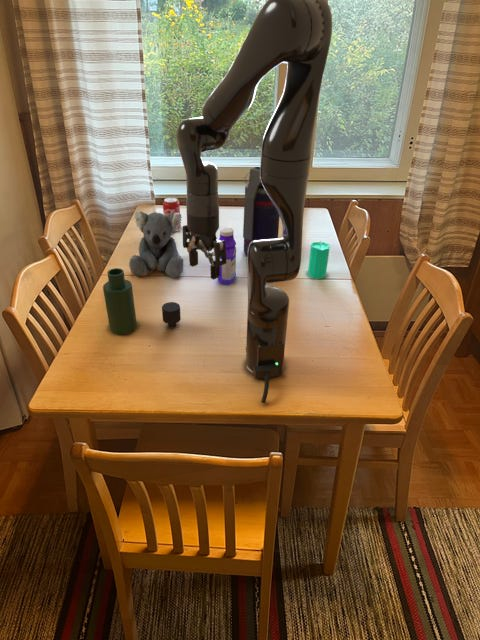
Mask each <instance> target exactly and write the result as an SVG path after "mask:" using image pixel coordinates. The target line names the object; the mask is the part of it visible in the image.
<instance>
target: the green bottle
mask: <svg viewBox="0 0 480 640" xmlns="http://www.w3.org/2000/svg"><path fill="white" fill-rule="evenodd" d="M106 275H107V282H105V283H104V284H103V285H102V290H103V297H104V302H105V307H106V314H107V321H108V326H109V327H108V328H109V330H110V332H111V333H112V334H114V335H117V336H126V335H130V334H132V333H134V332H135V331H136V330H137V329H138V323H137V314H136V306H135V298H134V289H133V283H132V282H131V280H128V279H126V278H125V271H124V269H122V268H120V267H114V268H111V269H109V270H108V271H107V273H106Z"/></svg>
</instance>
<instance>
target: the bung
mask: <svg viewBox="0 0 480 640" xmlns="http://www.w3.org/2000/svg"><path fill="white" fill-rule="evenodd" d="M161 314H162V322H163V323H165V324H167V327H168V328H169V329H175V328H176V327H177V323H178V324H179V322H180V321H181V320H182V318H181V305H180V304H179V303H178V302H174V301H169V302H165V303H163V304H162V305H161Z"/></svg>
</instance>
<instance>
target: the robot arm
mask: <svg viewBox="0 0 480 640" xmlns="http://www.w3.org/2000/svg"><path fill="white" fill-rule="evenodd" d="M332 34H333V15H332V11H331V6H330V5H329V3H328V1H327V0H267V1H266V2H265V3H264V5H263V6H262V7H261V9H260V11H259V12H258V14H257V15H256V17H255V19H254V21H253V23H252V25H251V27H250V29H249V31H248V33H247V35H246V37H245V39H244V41H243V43H242V45H241V47H240V48H239V50H238V52H237V54H236V56H235V58H234V60H233V61H232V64H231V66H230V67H229V69H228V71H227V73H225V75H224V77H223V78H222V80H220V82H219V84H218V85H217V86H216V87H215V88H214V89H213V91H212V92H211V94H210V95H209V96H208V97H207V99H206V100H205V102H204V104H203V106H202V109H201V116H199V117H192V118H191V117H190V118H185V119H183V120H182V121H180V122H179V124H178V126H177V129H176V133H175V139H176V145H177V148H178V151H179V154H180V158H181V161H182V165H183V167H184V171H185V179H186V180H185V181H186V182H185V183H186V197H185V204H186V205H185V207H186V224H185V225H182V247H183V249H186V251H187V253H188V261H189V266H190V267H192V268H193V267H196V266H198V265H199V251H198V250H200V252H202V253H203V254H204V256H205V258H206V259H208V261H209V264H210V266H209V267H210V270H209V271H210V273H209V274H210V279H211V280H216V279H218V277H219V276H220V266H221V265H224V264H226V242H225V241H224V240H223V241H219V239H218V238H217V233H218V231H219V230H220V198H219V175H218V174H219V173H218V167H217V166H216V164H215V163H212V162H209V161H203V158H202V154H204V153H208V152H213V151H216V150H218V149H220V148H222V147H223V146H224V145H225V144H226V142H227V141H228V138H229V136H230V134H231V133H232V130H233V127H234V126H235V125H236V124H237V123H238V122H239V121H240V120H241V118H242V117H243V116H245V114H246V113H247V112H248V110H249V109H250V107H251V106H252V104H253V102H254V99H255V96H256V92H257V88H258V85H259V83H260V82H261V81H262V79H263V78H264V77H265V76H266V75H267V74H269V73H270V72H271V71H273V69H275V68H277V67H278V66H279V65H281V64H282V63H283V64H287V66H286V68H287V69H286V76H285V81H284V82H285V83H284V87H283V93H282V95H281V97H280V100H279V102H278V104H277V107H276V109H275V110H274V113H273V115H272V117H271V118H270V120H269V123H268V125H267V126H266V130H265V132H264V135H263V138H262V142H261V147H260V165H259V167H260V179H261V183H262V185H263V187H264V189H265V191H266V193H267V195H268V196H269V198H270V200H271V201H272V203H273V204H274V206H275V208H276V209H277V211H278V213H279V216H280V217H279V219H280V220H281V224H282V235H281V237H278V238H275V239H263V240H255V241H252V242H251V243H250V245H249V247H248V252H247V255H246V265H247V268H246V269H247V315H246V316H247V317H246V342H245V343H246V344H245V363H244V364H245V365H244V366H245V369H246V371H247V372H248V373H249V374H251V375H252V376H253V378H254V379H255V380H262V379H264V387H263V393H262V397H261V401H260V402H261V403H263V404H266V401H267V398H268V394H269V388H270V387H269V385H270V378H276V377H282V376H283V371H284V369H285V353H286V343H287V342H286V341H287V328H288V319H289V310H290V309H289V308H290V297H289V295H288V294H287V292H286V291H285V290H283V289H281V288H279V287H277V286H274V285H269V284H273V283H281V282H290V281H293V280H295V279H296V278H297V277H298V276H299V273H300V270H301V263H302V252H303V251H302V249H303V227H304V226H303V225H304V213H305V203H306V196H307V189H308V183H309V176H310V170H311V163H312V162H311V161H312V153H313V141H314V140H313V139H314V134H315V127H316V119H317V114H318V105H319V99H320V93H321V88H322V84H323V83H322V82H323V78H324V75H325V69H326V66H327V61H328V56H329V52H330V46H331V41H332ZM211 251H212V252H211ZM213 257H214V258H213ZM220 257H222V260H221V259H220Z"/></svg>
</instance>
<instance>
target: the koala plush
mask: <svg viewBox="0 0 480 640" xmlns="http://www.w3.org/2000/svg"><path fill="white" fill-rule="evenodd" d="M182 218H183V217H182V213H180V214H179V213H176V212H174V213H170V214H169V215H167V216H165V215H164V214H163V212H162V213H161V212H157V211H154V212H151V213H149V214H148V213H146V212H144V211H141V210H140V211H139V210H136V211H135V212H134V220H135V222H134V223H136V224H135V225H136V228H138V229H139V231H140V232H141V233H142V234H143V236H142V237H141V239H140V241H139V245H138V255H136V254H133V255H131V257H130V258H129V265H128V266H129V270H130V272H131V274H132V275H133V276H135V277H140V278H142V277H145V276H148V275H149V274H151V272H153V270H154V269H156V270H157V271H159V272H164V273H165V274H166V276H168V277H170V278H175V279H176V278H178V277H180V276H181V275H182V273H183V270H184V259H183V258H182V256H181V255H180V253H179V251H178V248H177V242H176V240H175V239H174V237H173V236H172V234H173V233H176V232H177V231H176V230H177V228H178V227H179V226H180V224H181V225H182ZM175 231H176V232H175Z"/></svg>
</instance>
